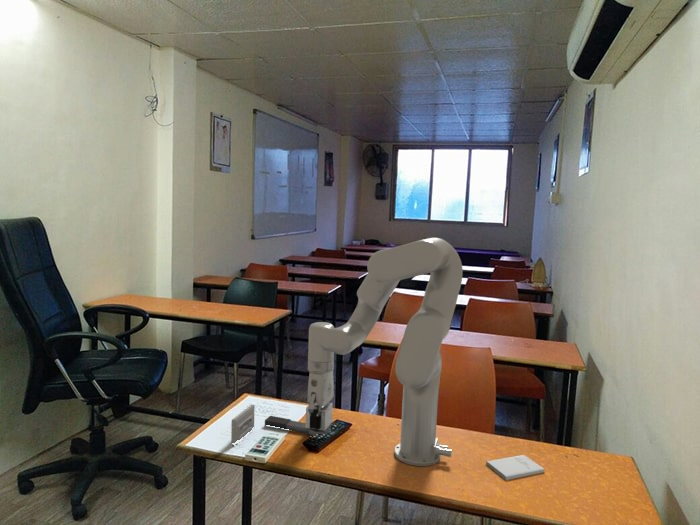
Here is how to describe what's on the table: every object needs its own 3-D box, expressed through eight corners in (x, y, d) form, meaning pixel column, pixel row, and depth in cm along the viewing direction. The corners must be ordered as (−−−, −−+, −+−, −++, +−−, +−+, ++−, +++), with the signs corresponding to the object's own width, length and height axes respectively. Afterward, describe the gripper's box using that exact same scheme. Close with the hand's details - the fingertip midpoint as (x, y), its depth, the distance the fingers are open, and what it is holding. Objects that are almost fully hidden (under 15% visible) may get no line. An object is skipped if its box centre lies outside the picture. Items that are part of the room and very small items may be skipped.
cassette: (250, 428, 149) (250, 403, 149) (255, 429, 149) (256, 404, 148) (229, 446, 138) (229, 419, 137) (235, 447, 137) (235, 420, 137)
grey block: (331, 422, 149) (332, 403, 148) (324, 430, 143) (325, 410, 143) (313, 419, 151) (314, 400, 150) (305, 427, 145) (306, 407, 144)
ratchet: (262, 428, 149) (262, 410, 149) (272, 419, 156) (273, 402, 155) (325, 441, 143) (325, 422, 142) (333, 431, 149) (334, 413, 149)
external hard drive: (485, 466, 133) (522, 459, 137) (505, 482, 125) (544, 474, 130) (486, 460, 133) (523, 453, 137) (506, 476, 125) (544, 468, 130)
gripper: (321, 375, 136) (320, 438, 138) (342, 358, 152) (340, 414, 154) (296, 372, 138) (295, 433, 140) (319, 355, 154) (318, 410, 156)
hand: (319, 423), depth 147 cm, fingers closed on grey block, 6 cm apart
